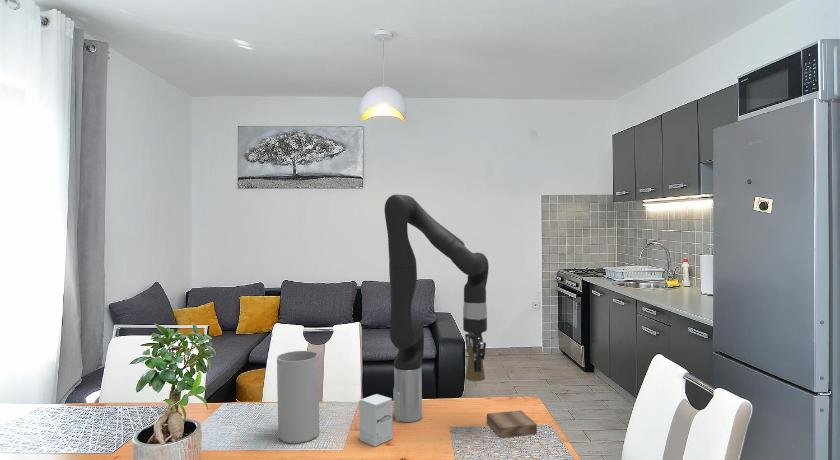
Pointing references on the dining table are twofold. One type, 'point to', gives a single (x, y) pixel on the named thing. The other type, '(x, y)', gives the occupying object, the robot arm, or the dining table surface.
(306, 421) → the cylinder vase
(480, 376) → the olive knob-ended peg
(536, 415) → the dining table surface
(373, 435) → the supplement box
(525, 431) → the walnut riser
